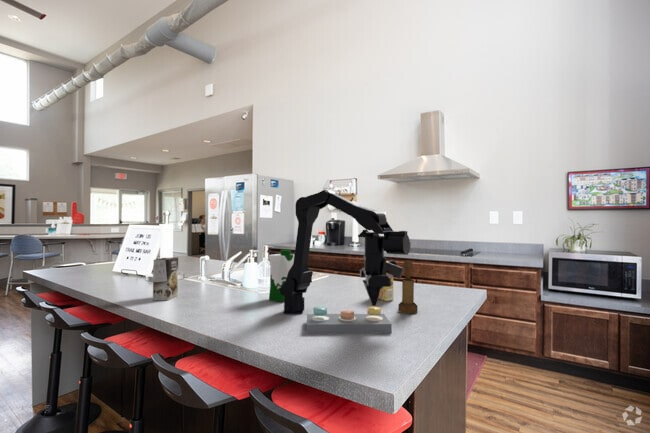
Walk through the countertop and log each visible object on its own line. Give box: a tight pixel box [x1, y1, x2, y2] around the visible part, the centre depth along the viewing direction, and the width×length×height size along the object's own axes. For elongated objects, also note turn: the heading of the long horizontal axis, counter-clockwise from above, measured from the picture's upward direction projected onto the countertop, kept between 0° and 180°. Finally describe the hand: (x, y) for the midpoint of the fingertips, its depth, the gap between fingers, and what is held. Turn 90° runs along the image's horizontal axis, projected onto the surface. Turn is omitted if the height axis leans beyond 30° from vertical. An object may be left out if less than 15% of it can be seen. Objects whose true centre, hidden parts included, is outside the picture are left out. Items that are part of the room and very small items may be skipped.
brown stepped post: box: [397, 259, 418, 315], centre depth 122 cm, size 7×6×18 cm
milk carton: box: [268, 249, 295, 303], centre depth 139 cm, size 9×9×20 cm
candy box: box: [378, 260, 395, 302], centre depth 141 cm, size 9×4×15 cm, turn 33°
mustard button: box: [366, 306, 382, 316], centre depth 103 cm, size 4×4×2 cm
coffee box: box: [152, 257, 179, 301], centre depth 141 cm, size 9×6×16 cm
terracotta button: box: [340, 309, 355, 319], centre depth 103 cm, size 4×4×2 cm
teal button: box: [313, 306, 328, 316], centre depth 103 cm, size 4×4×2 cm
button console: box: [305, 313, 393, 334], centre depth 103 cm, size 24×11×3 cm, turn 92°
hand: (373, 305), depth 103 cm, fingers closed
